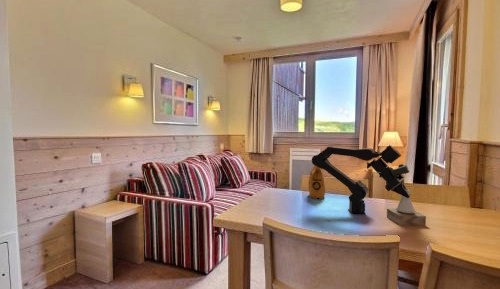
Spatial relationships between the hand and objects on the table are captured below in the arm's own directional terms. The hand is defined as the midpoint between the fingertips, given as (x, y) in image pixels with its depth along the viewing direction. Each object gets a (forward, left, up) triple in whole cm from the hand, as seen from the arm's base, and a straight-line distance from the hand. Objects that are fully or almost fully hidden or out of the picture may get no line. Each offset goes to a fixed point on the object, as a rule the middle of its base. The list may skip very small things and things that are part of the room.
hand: (409, 196), depth 117 cm
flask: (-1, +1, -7) cm, 7 cm away
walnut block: (-1, +1, -11) cm, 11 cm away
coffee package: (-30, +44, -12) cm, 55 cm away
